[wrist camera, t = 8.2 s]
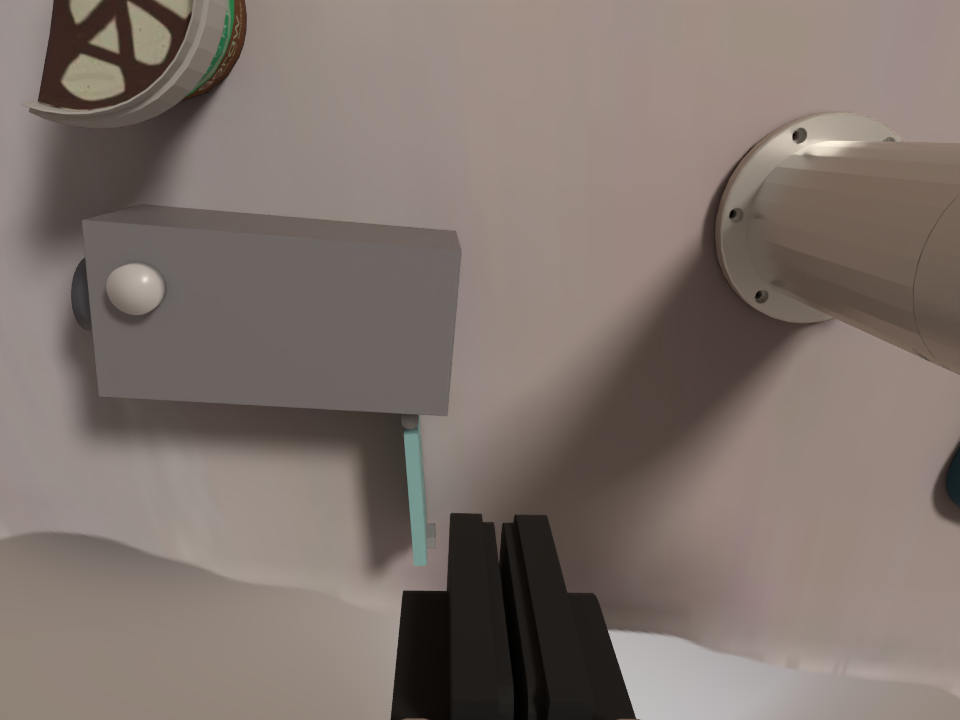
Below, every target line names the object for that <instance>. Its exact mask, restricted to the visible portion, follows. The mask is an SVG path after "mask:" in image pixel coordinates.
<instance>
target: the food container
mask: <svg viewBox="0 0 960 720" xmlns="http://www.w3.org/2000/svg"><path fill="white" fill-rule="evenodd" d="M246 23H247V14H246V6H245V0H54V2H53V12H52V20H51V29H50V36H49V41H48V47H47V53H46V59H45V64H44V70H43V76H42V81H41V87H40V92H39V98H38V101H36V102H27V103H21V105H22V106H26V107H29V108H30V109H29V112H30V113H33V114H35V115H37V116H40V117H42V118H44V119H47V120H51V121H54V122H58V123H61V124H65V125H69V126H76V127H83V128H91V129H98V128H118V127H123V126H129V125H134V124H138V123H141V122H143V121H146V120H149V119H151V118H154V117H156V116H158V115H160V114H162V113H163V112H165V111H167V110H168V109H170V108H172V107H173V106H175V105H176V104H177V103H178V102H180V101H184V100H187V99H190V98H193V97H196V96H199V95H202V94H205V93H208V92H209V91H210V90H211V89H212V88H214V87H215V86H216V85H217V84H218V83H220V82H221V81H222V80H223V79H225V78H226V77H227V76H228V75H229V73H230V72H231V70H232V68H233V67H234V65H235V64H236V62H237V60H238V59H239V57H240V54H241V51H242V48H243V45H244V41H245V35H246Z"/></svg>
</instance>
